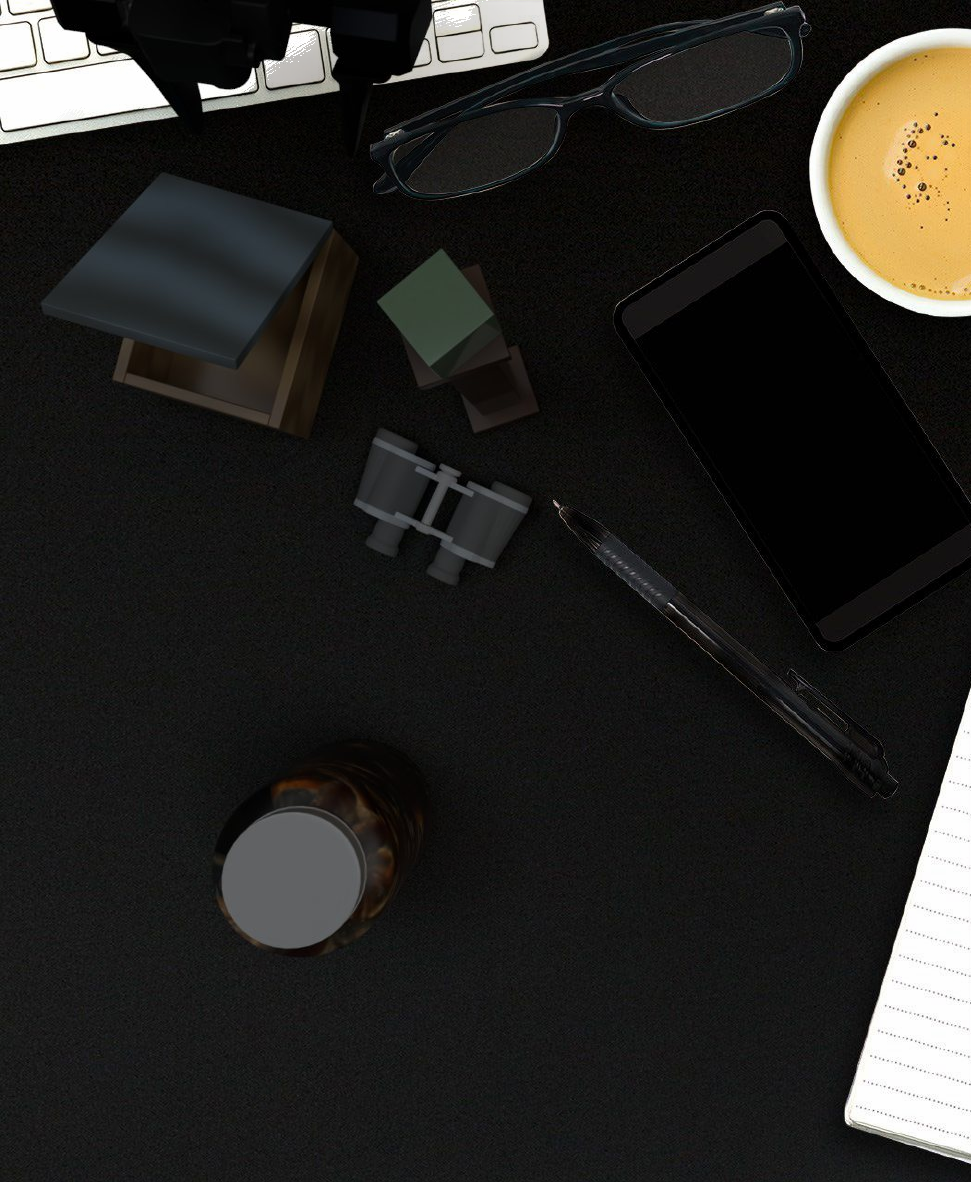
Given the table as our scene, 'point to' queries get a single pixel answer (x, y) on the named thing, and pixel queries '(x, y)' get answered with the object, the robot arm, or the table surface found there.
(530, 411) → the pillar
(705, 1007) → the table surface
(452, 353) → the cube
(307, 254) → the lid
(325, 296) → the box
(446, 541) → the binoculars
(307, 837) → the jar
